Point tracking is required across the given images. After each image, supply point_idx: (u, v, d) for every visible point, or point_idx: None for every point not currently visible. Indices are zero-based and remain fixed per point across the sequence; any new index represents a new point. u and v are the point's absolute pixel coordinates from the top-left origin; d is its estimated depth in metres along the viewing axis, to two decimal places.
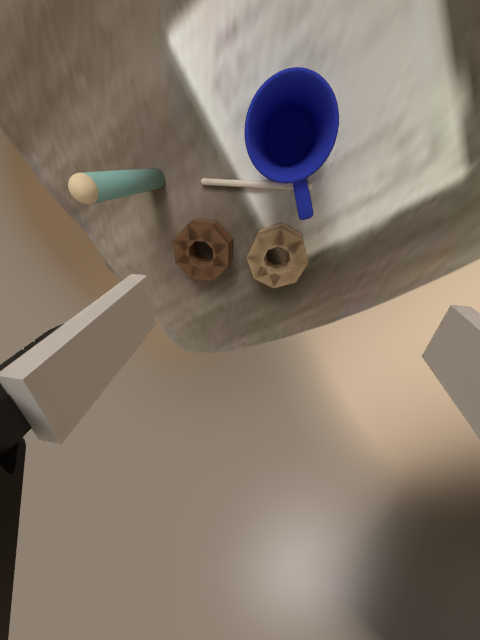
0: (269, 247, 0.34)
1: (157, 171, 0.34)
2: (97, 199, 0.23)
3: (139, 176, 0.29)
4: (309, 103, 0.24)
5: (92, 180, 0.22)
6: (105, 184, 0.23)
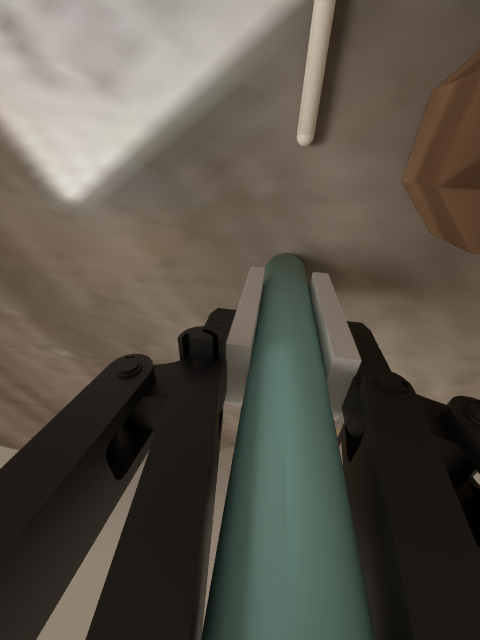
0: None
1: (270, 265, 0.15)
2: None
3: (271, 310, 0.10)
4: None
5: None
6: (276, 532, 0.04)
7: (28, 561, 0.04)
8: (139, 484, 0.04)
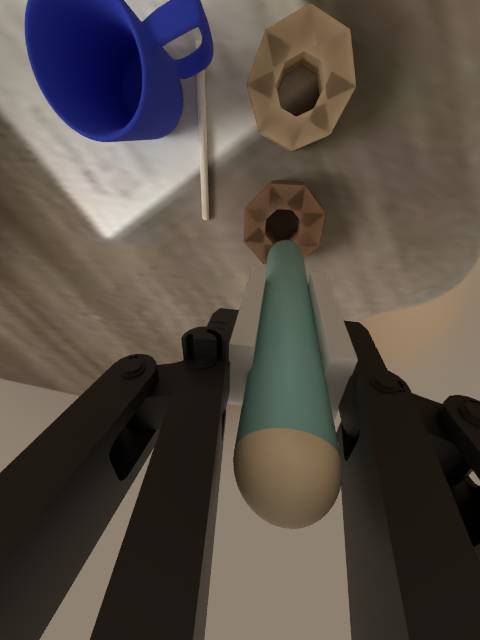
0: (277, 105, 0.21)
1: (272, 249, 0.17)
2: (329, 441, 0.05)
3: (274, 278, 0.12)
4: (88, 54, 0.19)
5: (257, 434, 0.05)
6: (279, 381, 0.06)
7: (32, 561, 0.04)
8: (143, 484, 0.04)
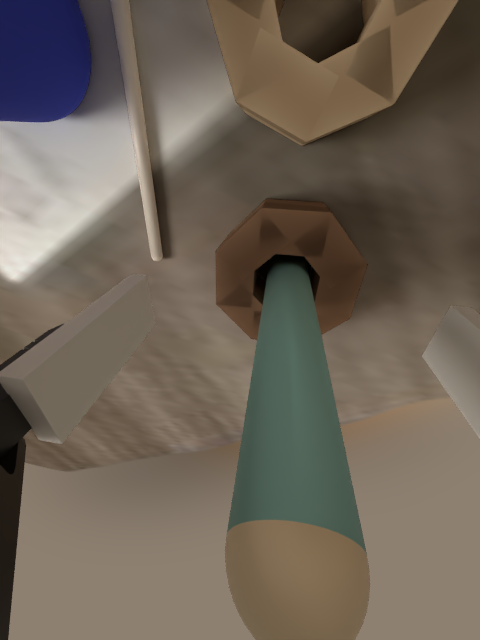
0: (275, 37, 0.09)
1: (274, 258, 0.16)
2: (353, 536, 0.04)
3: (276, 293, 0.11)
4: None
5: (257, 526, 0.04)
6: (285, 441, 0.05)
7: None
8: None
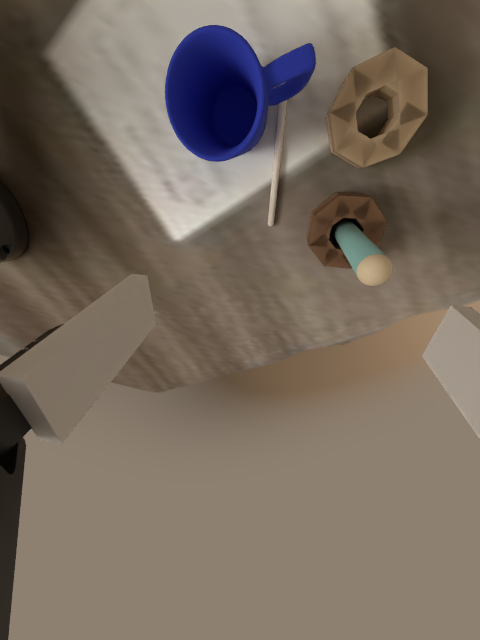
0: (355, 129, 0.24)
1: (337, 222, 0.31)
2: None
3: (348, 231, 0.26)
4: (199, 87, 0.23)
5: (368, 256, 0.19)
6: (370, 249, 0.20)
7: None
8: None
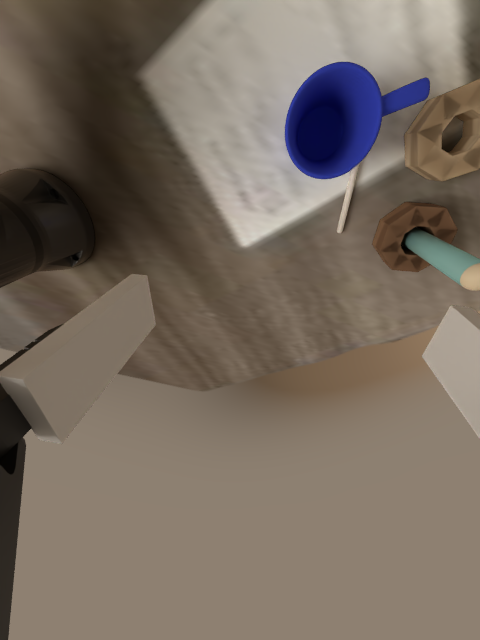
0: (439, 147, 0.27)
1: None
2: None
3: (428, 239, 0.29)
4: (302, 110, 0.25)
5: (474, 265, 0.22)
6: (470, 257, 0.23)
7: None
8: None
